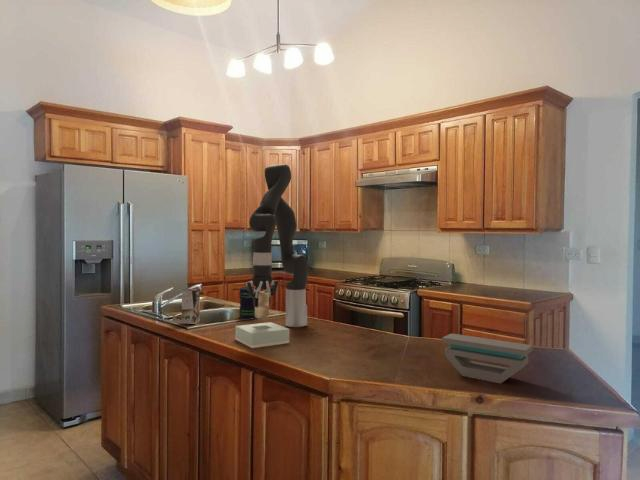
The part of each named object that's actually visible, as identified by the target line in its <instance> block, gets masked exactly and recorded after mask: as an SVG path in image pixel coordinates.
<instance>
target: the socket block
mask: <svg viewBox="0 0 640 480" xmlns="http://www.w3.org/2000/svg"><path fill="white" fill-rule="evenodd" d="M234 336H235V339H236V341H237V342H240V343H241V344H243V345H244V346H246V347H249V348H251V349H255V348H262V347H264V348H265V347H270V346H277V345H283V344H290V328H287V327H286V326H283V325H280V324H277V323H274V322H271V321H270V322H261V323H251V324H242V325H235V335H234Z"/></svg>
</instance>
